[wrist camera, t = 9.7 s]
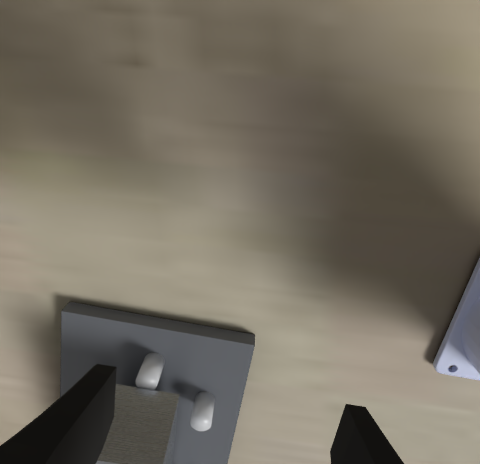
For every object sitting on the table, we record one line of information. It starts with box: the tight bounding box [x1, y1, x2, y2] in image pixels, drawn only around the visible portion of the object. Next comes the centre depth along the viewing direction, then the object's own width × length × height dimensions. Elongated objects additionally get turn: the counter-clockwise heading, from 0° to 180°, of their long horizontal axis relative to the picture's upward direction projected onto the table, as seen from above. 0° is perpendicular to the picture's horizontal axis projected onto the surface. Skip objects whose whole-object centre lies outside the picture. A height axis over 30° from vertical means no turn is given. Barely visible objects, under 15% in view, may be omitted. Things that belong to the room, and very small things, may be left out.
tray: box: [60, 302, 255, 464], centre depth 25 cm, size 11×16×3 cm
